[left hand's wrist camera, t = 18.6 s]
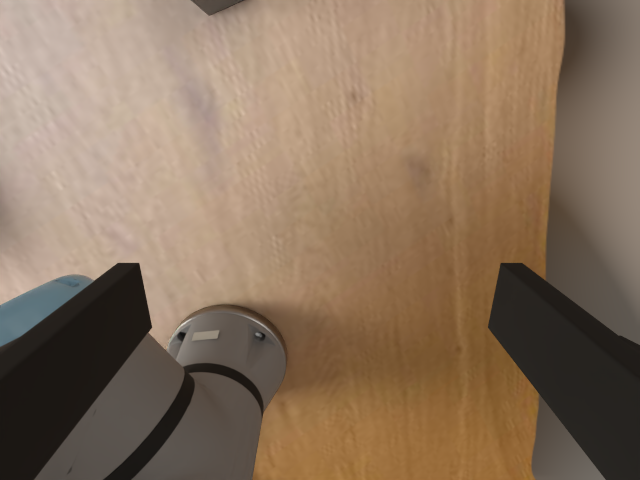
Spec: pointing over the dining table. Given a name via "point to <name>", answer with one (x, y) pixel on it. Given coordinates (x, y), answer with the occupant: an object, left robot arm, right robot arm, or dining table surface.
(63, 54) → the dining table surface
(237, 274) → the dining table surface
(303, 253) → the dining table surface
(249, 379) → the left robot arm
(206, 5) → the grey cube
